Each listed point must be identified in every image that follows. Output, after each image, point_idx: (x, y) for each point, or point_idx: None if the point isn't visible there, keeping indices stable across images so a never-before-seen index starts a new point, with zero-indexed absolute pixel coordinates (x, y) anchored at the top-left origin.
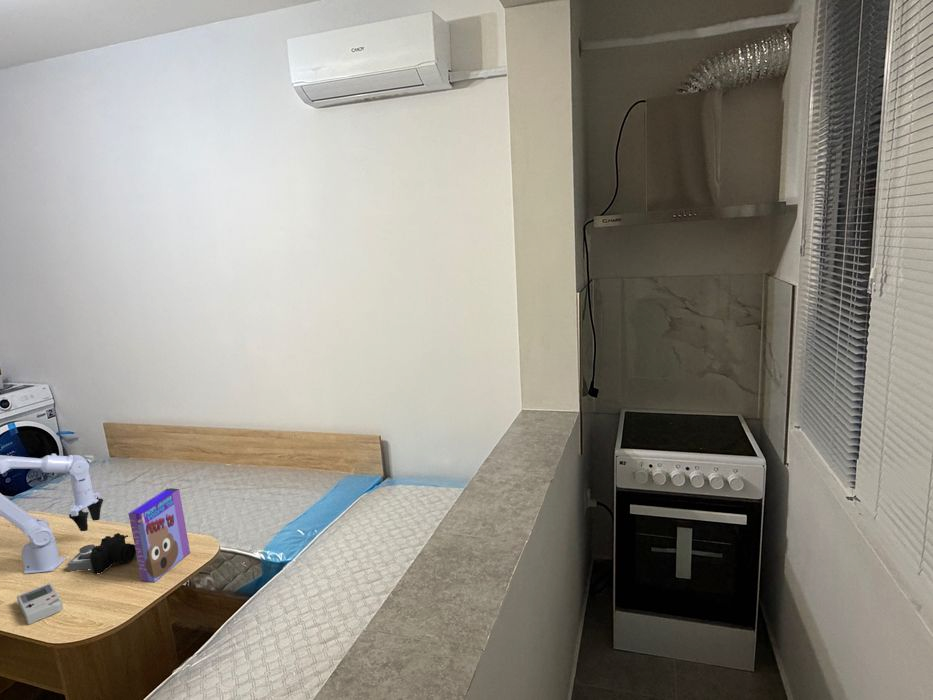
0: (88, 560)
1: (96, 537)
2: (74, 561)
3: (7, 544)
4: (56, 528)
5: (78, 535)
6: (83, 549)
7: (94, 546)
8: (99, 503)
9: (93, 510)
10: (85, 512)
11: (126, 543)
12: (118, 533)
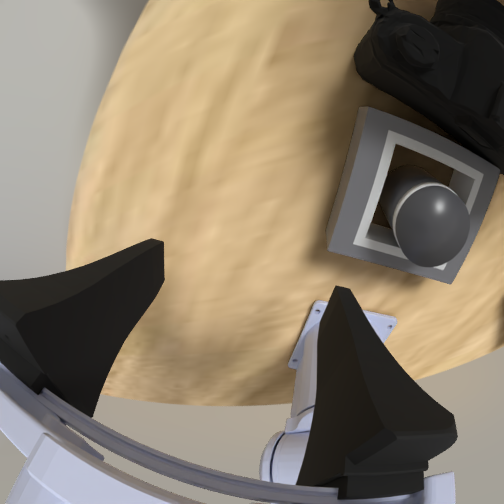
0: (478, 201)
1: (156, 231)
2: (450, 261)
3: (169, 403)
4: None
5: None
6: (445, 246)
7: (444, 190)
8: (42, 315)
9: (111, 322)
10: (386, 453)
11: (486, 12)
12: (413, 31)
